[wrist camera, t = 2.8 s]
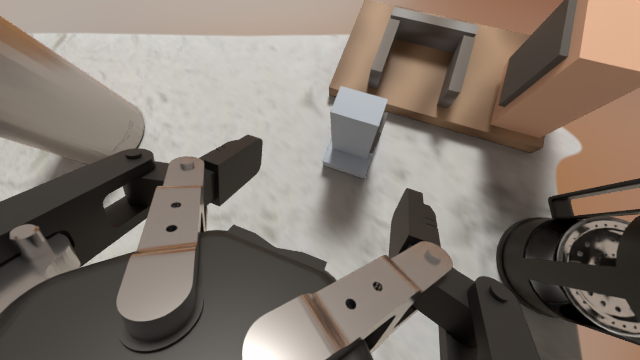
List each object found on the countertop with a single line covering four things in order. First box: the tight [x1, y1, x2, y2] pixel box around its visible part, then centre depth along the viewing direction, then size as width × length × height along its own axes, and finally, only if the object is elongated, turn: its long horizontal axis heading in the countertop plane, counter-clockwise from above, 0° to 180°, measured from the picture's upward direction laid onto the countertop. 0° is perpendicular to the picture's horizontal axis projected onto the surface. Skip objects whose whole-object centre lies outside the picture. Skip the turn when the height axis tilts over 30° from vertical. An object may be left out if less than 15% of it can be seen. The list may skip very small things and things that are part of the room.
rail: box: [329, 0, 545, 153], centre depth 28 cm, size 24×14×4 cm, turn 70°
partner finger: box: [490, 0, 640, 138], centre depth 22 cm, size 6×8×10 cm
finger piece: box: [323, 86, 388, 179], centre depth 24 cm, size 5×6×10 cm
